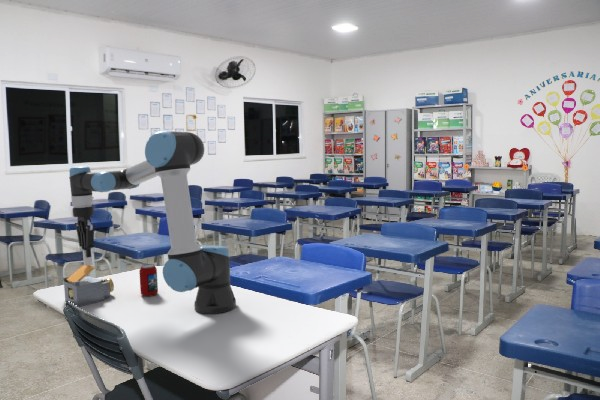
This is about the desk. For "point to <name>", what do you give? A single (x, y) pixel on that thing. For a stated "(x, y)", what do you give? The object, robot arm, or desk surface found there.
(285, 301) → the desk surface
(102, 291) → the hitch block
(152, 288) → the beverage can
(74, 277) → the plate
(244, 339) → the desk surface
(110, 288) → the pin
